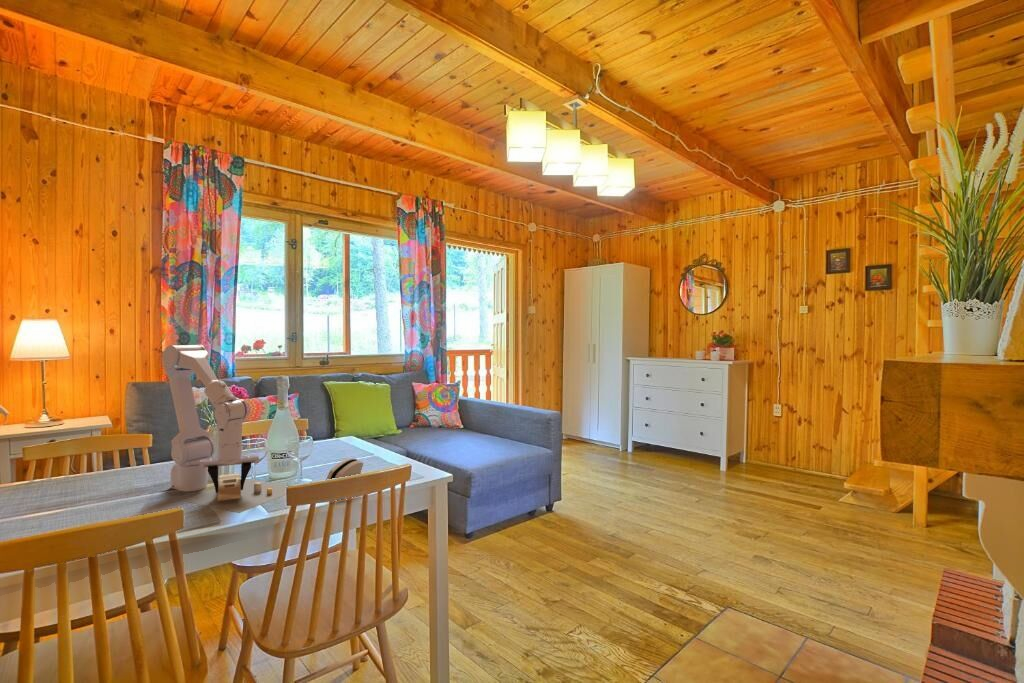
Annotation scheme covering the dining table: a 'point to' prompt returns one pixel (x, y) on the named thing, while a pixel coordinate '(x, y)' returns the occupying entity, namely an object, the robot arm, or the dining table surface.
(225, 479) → the tan block
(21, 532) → the dining table surface
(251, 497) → the board
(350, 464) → the tan half-round piece
